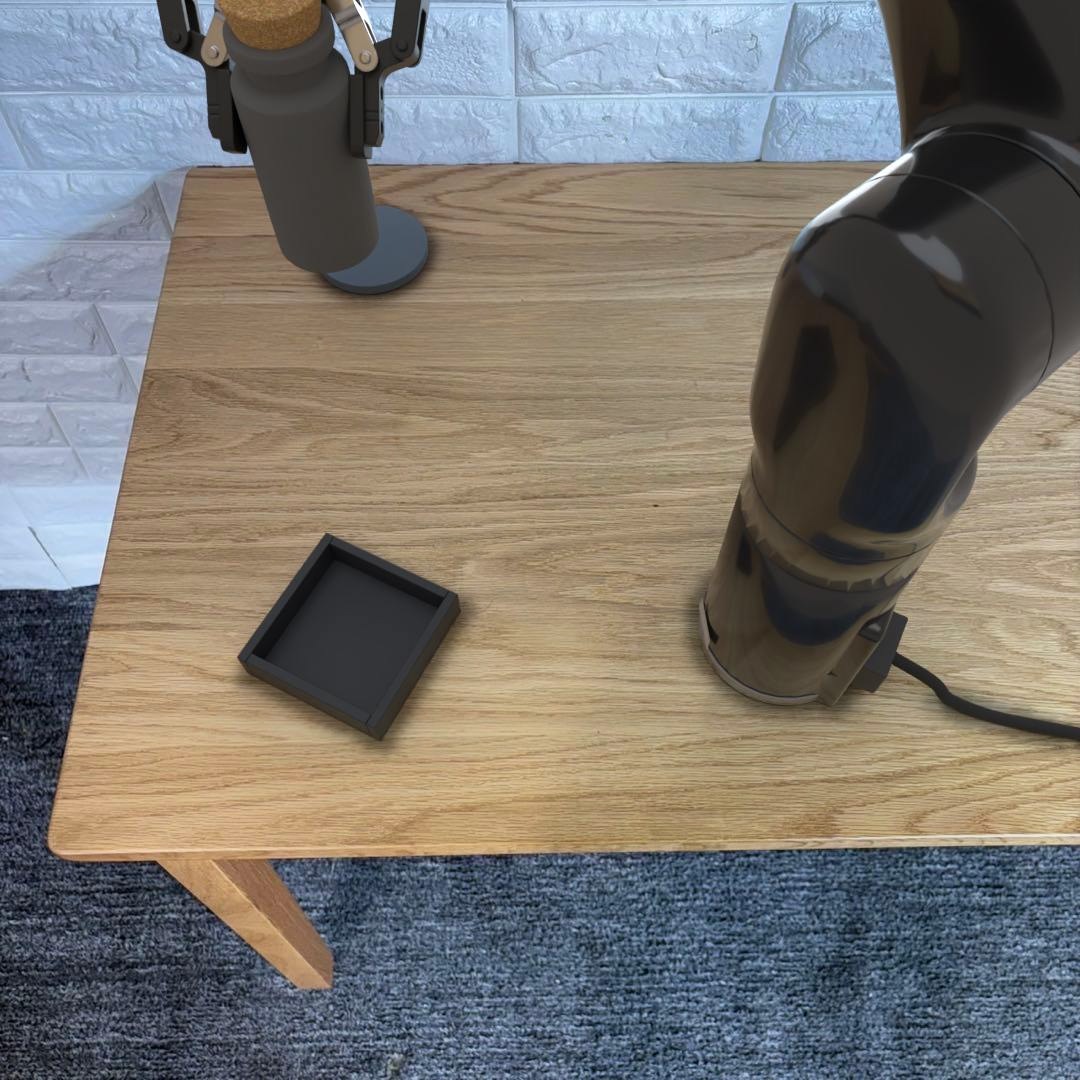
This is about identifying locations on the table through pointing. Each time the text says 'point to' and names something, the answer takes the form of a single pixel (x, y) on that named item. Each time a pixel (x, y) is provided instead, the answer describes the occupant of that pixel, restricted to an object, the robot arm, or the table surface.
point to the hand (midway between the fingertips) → (298, 153)
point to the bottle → (300, 130)
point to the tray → (351, 635)
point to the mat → (387, 256)
